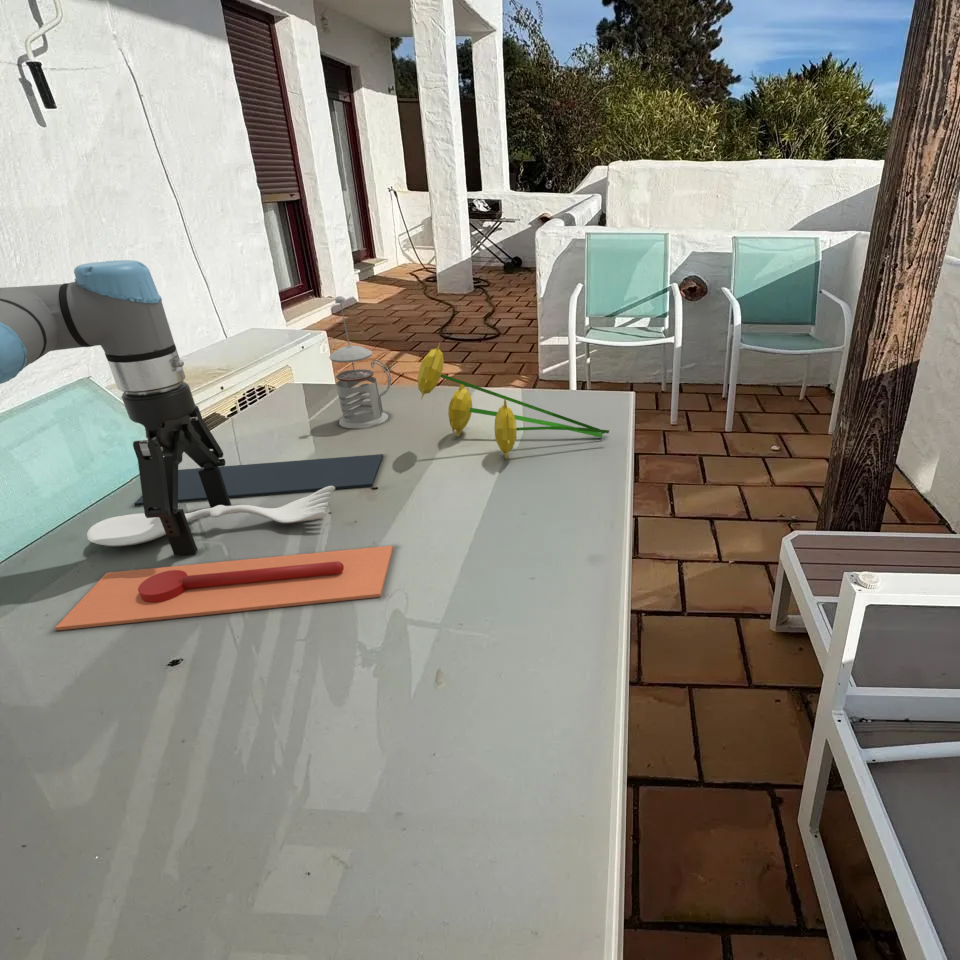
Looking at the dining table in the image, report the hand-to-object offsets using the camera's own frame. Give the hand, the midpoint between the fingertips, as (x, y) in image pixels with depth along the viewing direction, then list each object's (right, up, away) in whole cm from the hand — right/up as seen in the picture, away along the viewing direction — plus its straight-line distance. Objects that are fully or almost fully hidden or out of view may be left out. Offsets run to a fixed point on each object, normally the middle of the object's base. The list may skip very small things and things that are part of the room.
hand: (204, 529), depth 92 cm
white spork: (+2, 0, 0) cm, 2 cm away
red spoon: (+12, -6, -13) cm, 18 cm away
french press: (+9, +20, +39) cm, 45 cm away
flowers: (+42, +14, +27) cm, 52 cm away
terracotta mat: (+12, -6, -12) cm, 18 cm away
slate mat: (+1, +7, +15) cm, 16 cm away
